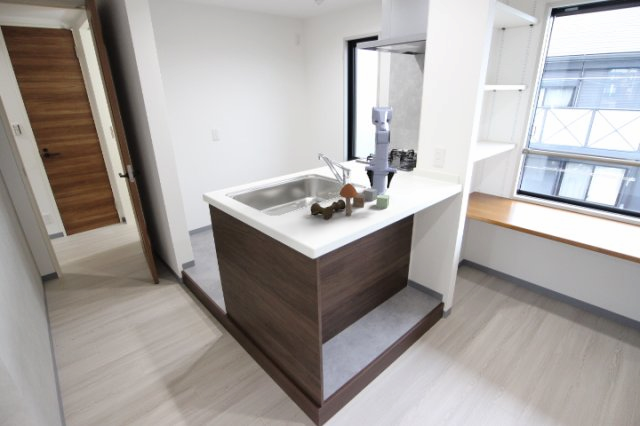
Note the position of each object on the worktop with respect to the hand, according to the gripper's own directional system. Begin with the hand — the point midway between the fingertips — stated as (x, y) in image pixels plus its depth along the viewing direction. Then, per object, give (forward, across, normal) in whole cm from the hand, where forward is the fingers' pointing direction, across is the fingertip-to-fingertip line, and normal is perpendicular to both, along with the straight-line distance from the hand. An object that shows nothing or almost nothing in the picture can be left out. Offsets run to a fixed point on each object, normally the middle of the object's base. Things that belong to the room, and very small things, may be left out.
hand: (379, 187), depth 149 cm
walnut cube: (+10, -9, -2) cm, 14 cm away
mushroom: (+10, -10, -16) cm, 21 cm away
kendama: (+10, -19, -18) cm, 28 cm away
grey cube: (+10, -7, +10) cm, 15 cm away
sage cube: (+10, +2, +2) cm, 10 cm away
